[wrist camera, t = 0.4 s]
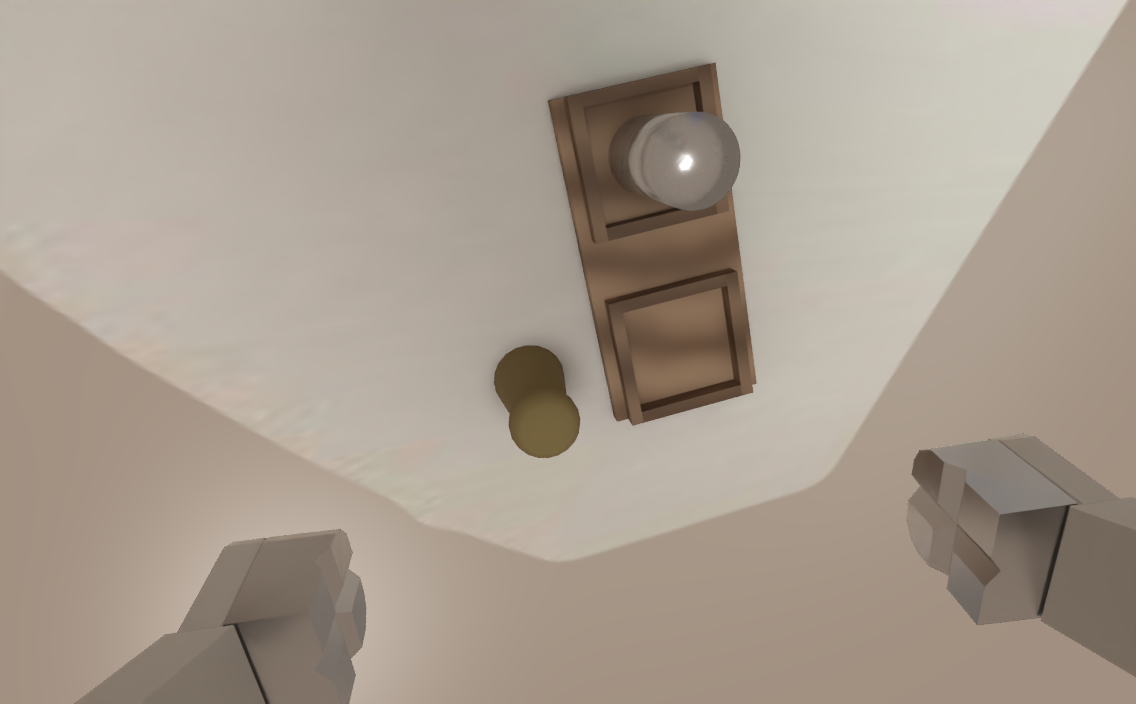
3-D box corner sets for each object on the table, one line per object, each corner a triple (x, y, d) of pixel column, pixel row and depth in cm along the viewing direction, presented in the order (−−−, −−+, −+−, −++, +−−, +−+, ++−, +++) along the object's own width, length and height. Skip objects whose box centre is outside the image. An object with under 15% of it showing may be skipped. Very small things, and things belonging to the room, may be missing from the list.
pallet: (547, 100, 52) (553, 99, 50) (709, 64, 53) (722, 60, 51) (613, 416, 61) (621, 428, 59) (750, 378, 62) (763, 389, 60)
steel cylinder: (601, 124, 52) (641, 123, 42) (676, 107, 53) (733, 102, 42) (616, 202, 54) (657, 220, 44) (688, 185, 55) (745, 198, 44)
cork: (577, 366, 59) (606, 416, 49) (540, 423, 60) (560, 484, 50) (517, 332, 57) (534, 377, 47) (480, 392, 58) (489, 448, 48)
